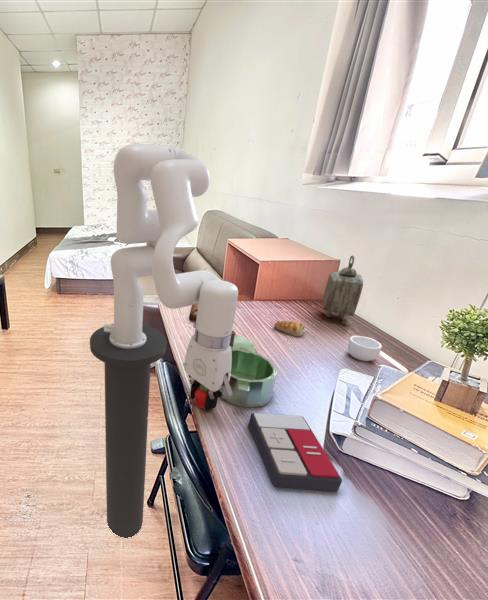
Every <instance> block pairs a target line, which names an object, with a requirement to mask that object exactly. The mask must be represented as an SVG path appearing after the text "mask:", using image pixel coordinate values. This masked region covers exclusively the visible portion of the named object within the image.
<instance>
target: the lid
mask: <svg viewBox="0 0 488 600" xmlns="http://www.w3.org/2000/svg"><path fill="white" fill-rule="evenodd" d="M229 346H230V347H231V349H240V347H243V348H248V349H249V351H251V352H254V353H256V346H255V344H254V343H253V342H251V341H250V340H249V339H247V338H246V337H243V336H240V335H237V334H236V331H234V330H232V334H231V339H230V345H229Z"/></svg>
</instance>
